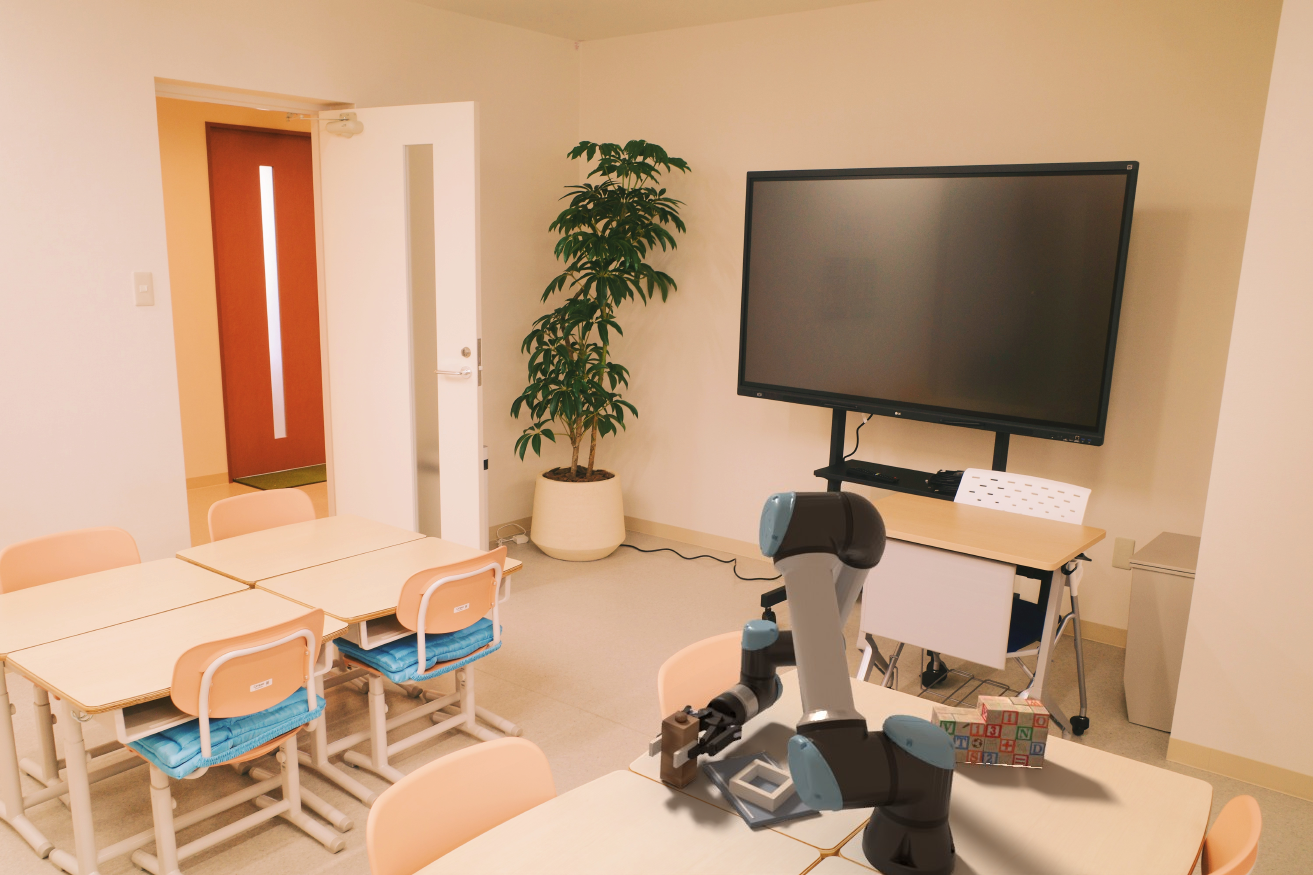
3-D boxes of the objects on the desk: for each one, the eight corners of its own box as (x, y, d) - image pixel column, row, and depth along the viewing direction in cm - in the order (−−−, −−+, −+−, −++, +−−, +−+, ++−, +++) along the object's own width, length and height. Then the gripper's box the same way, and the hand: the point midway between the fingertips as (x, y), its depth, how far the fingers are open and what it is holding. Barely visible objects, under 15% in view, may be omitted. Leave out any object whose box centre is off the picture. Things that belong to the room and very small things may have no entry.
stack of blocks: (935, 762, 179) (941, 705, 176) (927, 746, 185) (933, 691, 183) (1043, 769, 177) (1050, 713, 175) (1032, 753, 184) (1039, 698, 181)
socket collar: (798, 789, 165) (799, 776, 165) (772, 811, 158) (773, 799, 158) (755, 770, 171) (756, 758, 171) (728, 791, 164) (729, 779, 163)
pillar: (696, 776, 169) (699, 714, 167) (681, 788, 166) (684, 724, 163) (675, 767, 172) (678, 705, 170) (659, 778, 168) (662, 715, 166)
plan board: (818, 812, 160) (819, 806, 160) (750, 827, 155) (750, 822, 155) (765, 755, 178) (765, 750, 178) (702, 768, 173) (702, 762, 173)
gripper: (768, 741, 177) (701, 792, 159) (695, 712, 188) (624, 756, 170) (770, 706, 176) (703, 753, 157) (696, 679, 186) (625, 720, 168)
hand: (662, 754), depth 164 cm, fingers closed on pillar, 5 cm apart
